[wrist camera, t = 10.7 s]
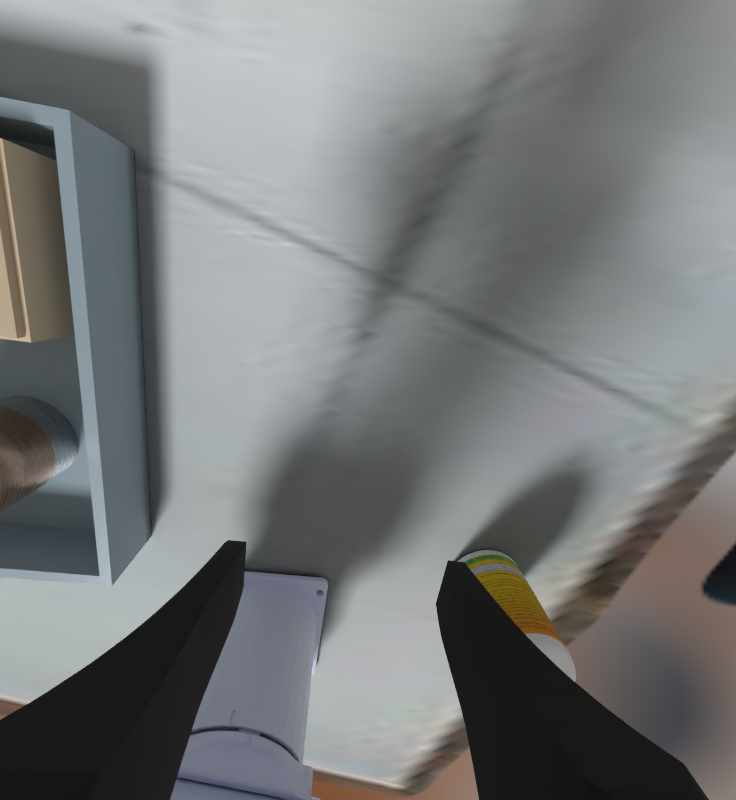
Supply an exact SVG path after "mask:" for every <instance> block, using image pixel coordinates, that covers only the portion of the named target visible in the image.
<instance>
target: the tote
mask: <svg viewBox="0 0 736 800" xmlns="http://www.w3.org/2000/svg"><path fill="white" fill-rule="evenodd" d="M0 138H2V139H5V140H7V141H9V142H12V143H14V144H17V145H19V146H21V147H24V148H26V149H29V150H31V151H34V152H36V153H38V154H41V155H43V156H46V157H48V158H50V159H53V160H55V161H57V167H58V176H59V186H60V196H61V206H62V215H63V225H64V235H65V244H66V254H67V264H68V274H69V283H70V293H71V303H72V312H73V322H74V332H75V335H70V336H64V337H59V338H53V339H48V340H43V341H37V342H32V343H30V342H23V341H15V340H8V339H1V338H0V399H2V398H5V397H9V396H29V397H33V398H37V399H40V400H42V401H44V402H47V403H48V404H50V405H52V406H53V407H55V408H56V409H58V410H59V411H60V412H61V413H62V414H63V415H64V416H65V417H66V418H67V419H68V421H69V422H70V423H71V425H72V427H73V428H74V431H75V433H76V436H77V440H78V452H77V456H76V458H75V460H74V462H73V463H72V464H71V466H70V467H69V468H67V469H66V470H65V471H63V472H62V473H60V474H58V475H57V476H55V477H54V478H52V479H51V480H49V481H47V482H46V483H45V484H44V485H43V486H41V487H40V488H38V489H37V490H35V491H34V492H32V493H31V494H29V495H27V496H26V497H24V498H23V499H21V500H20V501H18V502H17V503H15V504H13V505H12V506H10V507H9V508H7V509H6V510H4V511H3V512H1V513H0V577H7V578H20V579H32V580H45V581H58V582H71V583H83V584H96V585H109V586H112V585H113V584H114V583H115V581H116V580H117V579H118V578H119V576H120V575H121V574H122V572H123V571H124V570H125V569H126V567H127V566H128V565H129V564H130V562H131V561H132V560H133V559H134V557H135V556H136V555H137V553H138V552H139V551H140V550H141V548H142V547H143V546H144V545H145V543H146V542H147V541H148V540H149V538H150V537H151V521H150V499H149V476H148V453H147V430H146V408H145V385H144V362H143V339H142V316H141V294H140V271H139V248H138V225H137V203H136V180H135V157H134V150H133V149H132V148H130V147H129V146H127V145H125V144H124V143H122V142H120V141H119V140H117V139H116V138H114V137H112V136H111V135H109V134H107V133H106V132H104V131H102V130H101V129H99V128H98V127H96V126H94V125H93V124H91V123H89V122H88V121H86V120H85V119H83V118H81V117H80V116H78V115H76V114H75V113H73V112H71V111H70V110H66V109H61V108H56V107H51V106H46V105H40V104H35V103H30V102H25V101H20V100H14V99H9V98H4V97H0Z"/></svg>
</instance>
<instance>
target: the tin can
mask: <svg viewBox="0 0 736 800" xmlns="http://www.w3.org/2000/svg"><path fill="white" fill-rule="evenodd" d="M77 452H78V440H77V436H76V433H75V431H74V428H73V427H72V425H71V423H70V422H69V421H68V419H67V418H66V417H65V416H64V415H63V414H62V413H61V412H60V411H59V410H58V409H56V408H55V407H53V406H52V405H50V404H48V403H47V402H44V401H42V400H40V399H37V398H33V397H29V396H9V397H5V398H2V399H0V513H1V512H3V511H4V510H6V509H7V508H9V507H10V506H12V505H13V504H15V503H17V502H18V501H20V500H21V499H23V498H24V497H26V496H27V495H29V494H31V493H32V492H34V491H35V490H37V489H38V488H40V487H41V486H43V485H44V484H45V483H46V482H47V481H49V480H51V479H52V478H54V477H55V476H57V475H58V474H60V473H62V472H63V471H65V470H66V469H67V468H69V467H70V466H71V464H72V463H73V462H74V460H75V458H76V456H77Z"/></svg>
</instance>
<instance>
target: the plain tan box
mask: <svg viewBox="0 0 736 800" xmlns="http://www.w3.org/2000/svg"><path fill="white" fill-rule="evenodd" d="M70 335H75V332H74V322H73V312H72V303H71V293H70V283H69V274H68V264H67V254H66V244H65V235H64V225H63V215H62V206H61V196H60V186H59V176H58V167H57V161H55V160H53V159H50V158H48V157H46V156H43V155H41V154H38V153H36V152H34V151H31V150H29V149H26V148H24V147H21V146H19V145H17V144H14V143H12V142H9V141H7V140H5V139H2V138H0V338H1V339H8V340H15V341H23V342H30V343H32V342H37V341H43V340H48V339H53V338H59V337H64V336H70Z"/></svg>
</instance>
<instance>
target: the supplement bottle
mask: <svg viewBox="0 0 736 800" xmlns="http://www.w3.org/2000/svg"><path fill="white" fill-rule="evenodd" d="M457 562H464V563H465V564H466V565H467V566H468V567H469V569H470V570H471V571H472V572H473V574H474V575H475V576H476V577H477V579H478V580H479V581H480V582H481V584H482V585H483V586H484V587H485V588H486V590H487V591H488V592H489V593H490V595H491V596H492V597H493V598H494V599H495V601H496V602H497V603H498V604H499V605H500V607H501V608H502V609H503V610H504V611H505V612H506V614H507V615H508V616H509V617H510V618H511V619H512V620H513V622H514V623H515V624H516V625H517V626H518V627H519V628H520V629H521V630H522V631H523V632H524V634H525V635H526V636H527V637H528V638H529V639H530V640H531V641H532V642H533V643H534V644H535V645H536V646H537V647H538V648H539V649H540V650H541V651H542V652H543V653H544V654H545V655H546V656H547V657H548V658H549V659H550V660H551V661H552V662H553V663H554V664H555V665H557V666H558V667H559V668H560V669H561V670H562V671H563V672H564V673H565V674H566V675H567V676H569V677H570V678H571V679H572V680H573V681H574V682H575V680H576V673H575V667H574V663H573V661H572V658H571V656H570V654H569V652H568V651H567V649H566V647H565V645H564V643H563V642H562V640H561V638H560V637H559V635H558V633H557V632H556V630H555V628H554V627H553V625H552V623H551V621H550V620H549V618H548V616H547V615H546V613H545V611H544V610H543V608H542V606H541V604H540V603H539V601H538V599H537V598H536V596H535V594H534V592H533V591H532V589H531V587H530V586H529V584H528V582H527V581H526V579H525V577H524V575H523V574H522V572H521V570H520V569H519V567H518V566H517V564H516V563H515V562H514V560H512V559H511V558H510V557H509V556H507V555H506V554H504V553H501V552H499V551H494V550H481V551H476V552H473V553H470V554H468V555H466V556H464V557H462V558H461V559H460V560H458V561H457Z"/></svg>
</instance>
